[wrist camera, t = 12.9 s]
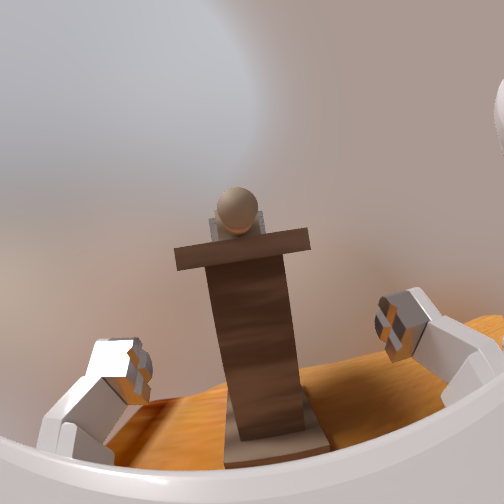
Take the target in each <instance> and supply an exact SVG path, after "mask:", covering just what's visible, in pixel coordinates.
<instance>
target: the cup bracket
mask: <svg viewBox="0 0 504 504" xmlns="http://www.w3.org/2000/svg"><path fill="white" fill-rule="evenodd" d="M257 212H258V218H259V225H260V231H261V234H266V232H265V225H264V219H263V213H262V211H257ZM209 225H210V232H211V238H212V242H216V241H219V238H218V232H217V225H216V218H212V219H209Z"/></svg>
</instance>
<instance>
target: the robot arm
mask: <svg viewBox="0 0 504 504" xmlns="http://www.w3.org/2000/svg"><path fill="white" fill-rule="evenodd" d="M494 121H495V126H496V130H497V133H498V136H499V141H500V145H501V148H502V152H503V155H504V79H503V81H502V82H501V84H500V86H499V89H498V92H497V96H496V100H495V105H494ZM378 306H379V307H380V310H379V311H378V313H377V314H376V317H375V329H376V333H377V335H378V337H379V339H380V340H382V341H384V342H385V343H386V345H385V350H386V352H387V354H388V356H389V358H390V360H391V362H392V363H394V362H397V361H400V360H403V359H406V358H409V357H412V356H413V357H412V358H413V359H414V360H416V361H417V362H419V363H420V364H421V365H423V366H424V367H425V368H427V369H428V370H430V371H431V372H432V373H434V374H435V375H436V376H438V377H439V378H441V379H442V380H443V381H445V382H446V383H447V384H448V386H447V387H446V388H445V390H444V391H443V392H442V394H441V399H442V401H443V403H444V405H445V407H446V408H444V409H442V410H440V411H438V412H436V413H434V414H432V415H430V416H428V417H426V418H424V419H421V420H419V421H417V422H415V423H413V424H410V425H408V426H406V427H403V428H401V429H398V430H396V431H393V432H391V433H388V434H386V435H383V436H380V437H378V438H375V439H372V440H369V441H366V442H363V443H360V444H357V445H354V446H350V447H347V448H344V449H340V450H337V451H333V452H329V453H325V454H321V455H317V456H313V457H308V458H304V459H299V460H294V461H289V462H283V463H277V464H271V465H264V466H257V467H248V468H238V469H226V470H208V471H166V470H148V469H136V468H127V467H118V466H114V453H113V451H112V450H110V449H109V448H107V447H106V446H104V445H103V442H104V441H105V439H106V438H107V436H108V435H109V433H110V431H111V430H112V429H113V427H114V426H115V424H116V423H117V421H118V420H119V418H120V417H121V415H122V414H123V412H124V411H125V410H126V408H127V405H149V398H150V390H151V388H150V387H149V385H148V384H147V383H148V382H149V381H150V380H151V378H152V373H153V368H152V361H151V358H150V356H149V354H148V353H147V352H146V351H144V350H142V343H141V341H140V340H139V338H135V337H134V338H111V339H98V340H97V341H96V343H95V346H94V349H93V352H92V355H91V359H90V362H89V365H88V369H87V372H86V376H85V377H81V378H80V379H79V380H78V381H77V382H76V383H75V384H74V385H73V386H72V387H71V388H70V390H69V391H68V392H67V393H66V394H65V395H64V396H63V397H62V398H61V399H60V400H59V401H58V402H57V403H56V404H55V405H54V406H53V407H52V408H51V409H50V411H49V412H48V413H47V414H46V415H45V416H44V417H43V421H42V425H41V429H40V433H39V438H38V442H37V446H36V448H33V447H30V446H27V445H24V444H21V443H18V442H15V441H13V440H10V439H8V438H5V437H2V436H0V504H504V349H503V352H502V350H501V349H500V347H499V346H498V344H497V343H496V342H495V340H493V339H491V338H489V337H487V336H485V335H483V334H481V333H479V332H478V331H476V330H474V329H472V328H470V327H468V326H466V325H464V324H462V323H460V322H458V321H456V320H453V319H451V318H449V317H447V316H442V315H441V314H440V312H439V311H438V310H437V309H436V307H435V306H434V305H433V303H432V302H431V301H430V299H429V298H428V297H427V296H426V294H425V293H424V292H423V291H422V289H421V288H419V287H415V288H411V289H408V290H404V291H400V292H397V293H393V294H389V295H386V296H382V297H381V298H380V300H379V304H378ZM502 347H503V348H504V337H503V343H502Z"/></svg>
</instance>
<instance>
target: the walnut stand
mask: <svg viewBox="0 0 504 504" xmlns="http://www.w3.org/2000/svg"><path fill="white" fill-rule="evenodd" d="M305 250H311V248H310V241H309V235H308V229H307V228H301V229H294V230H287V231H280V232H274V233H267V234H261V235H254V236H248V237H241V238H235V239H229V240H222V241H216V242H210V243H204V244H198V245H192V246H186V247H180V248H174V252H175V259H176V266H177V271H180V270H186V269H192V268H199V267H205V271H206V277H207V283H208V288H209V294H210V300H211V305H212V312H213V316H214V322H215V327H216V333H217V338H218V342H219V347H220V353H221V358H222V362H223V367H224V372H225V376H226V381H227V386H228V397H227V413H226V429H225V447H224V466H225V469H238V468H248V467H257V466H264V465H271V464H277V463H283V462H289V461H294V460H299V459H304V458H308V457H313V456H317V455H321V454H325V453H329V452H330V444H329V442H328V440H327V438H326V436H325V434H324V432H323V430H322V428H321V426H320V424H319V422H318V419H317V417H316V415H315V413H314V411H313V409H312V407H311V405H310V403H309V401H308V399H307V397H306V395H305V393H304V391H303V388H302V386H301V384H300V377H299V369H298V361H297V353H296V345H295V338H294V330H293V323H292V316H291V309H290V302H289V295H288V287H287V281H286V274H285V267H284V262H283V254H286V253H293V252H299V251H305Z"/></svg>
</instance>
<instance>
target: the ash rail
mask: <svg viewBox="0 0 504 504" xmlns="http://www.w3.org/2000/svg"><path fill="white" fill-rule="evenodd" d="M257 211H258V203H257V200H256V198H255V196H254V195H253V194H252V193H251V192H250V191H248V190H246V189H244V188H240V187H236V188H231V189H228V190H227V191H225V192H224V193H223V194H222V195H221V196H220V198H219V200H218V203H217V210H216V211H214V212H215V218H216V225H217V232H218V238H219V241H222V240H229V239H235V238H241V237H248V236H254V235H261V231H260V225H259V218H258V212H257Z"/></svg>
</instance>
